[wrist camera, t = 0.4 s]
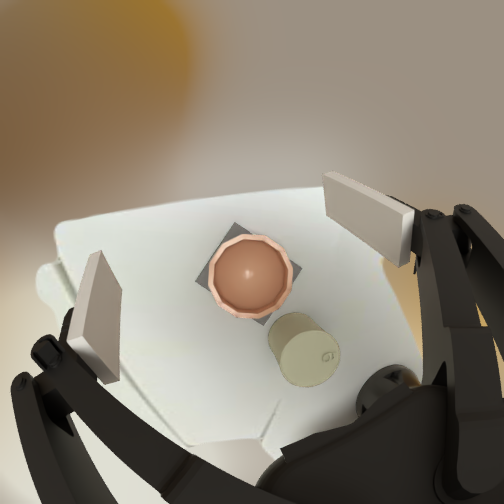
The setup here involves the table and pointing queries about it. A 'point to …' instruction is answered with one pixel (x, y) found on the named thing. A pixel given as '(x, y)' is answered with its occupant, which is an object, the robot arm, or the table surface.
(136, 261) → the table surface
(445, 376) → the robot arm
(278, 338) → the can
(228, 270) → the bowl
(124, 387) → the table surface
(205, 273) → the mat
